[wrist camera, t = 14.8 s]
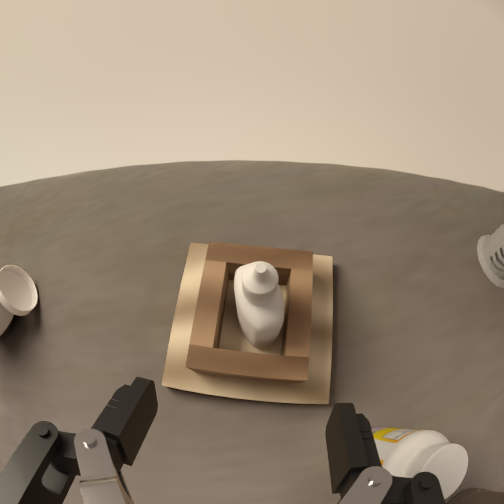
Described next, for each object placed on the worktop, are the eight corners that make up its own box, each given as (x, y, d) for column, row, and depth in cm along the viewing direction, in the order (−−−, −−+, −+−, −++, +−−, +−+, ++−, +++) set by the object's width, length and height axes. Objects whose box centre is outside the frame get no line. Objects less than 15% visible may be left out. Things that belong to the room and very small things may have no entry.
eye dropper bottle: (229, 344, 27) (214, 304, 16) (240, 291, 29) (235, 224, 19) (273, 352, 26) (290, 318, 16) (282, 298, 29) (301, 235, 19)
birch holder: (324, 404, 25) (341, 404, 20) (165, 386, 26) (148, 382, 21) (329, 262, 33) (341, 237, 28) (193, 249, 34) (184, 222, 29)
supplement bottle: (371, 491, 19) (435, 527, 8) (330, 461, 22) (384, 496, 11) (411, 445, 22) (489, 453, 11) (374, 414, 24) (447, 413, 13)
